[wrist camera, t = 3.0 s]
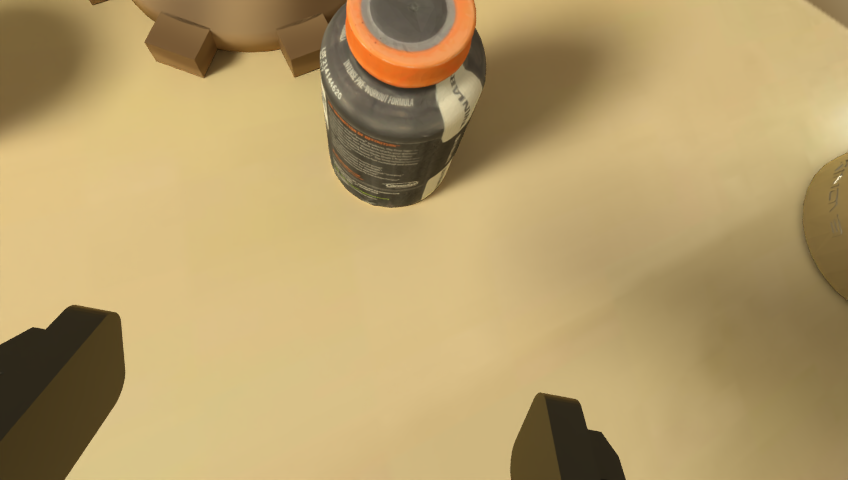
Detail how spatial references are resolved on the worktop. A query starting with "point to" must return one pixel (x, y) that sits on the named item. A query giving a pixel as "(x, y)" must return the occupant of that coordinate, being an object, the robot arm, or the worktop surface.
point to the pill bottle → (399, 93)
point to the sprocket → (236, 30)
